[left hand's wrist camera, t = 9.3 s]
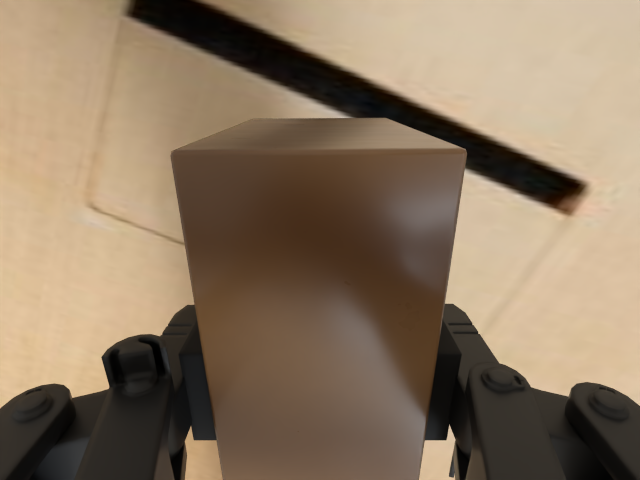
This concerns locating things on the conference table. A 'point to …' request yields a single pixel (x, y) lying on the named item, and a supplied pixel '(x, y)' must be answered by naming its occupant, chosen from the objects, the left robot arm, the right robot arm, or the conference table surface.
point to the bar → (319, 290)
